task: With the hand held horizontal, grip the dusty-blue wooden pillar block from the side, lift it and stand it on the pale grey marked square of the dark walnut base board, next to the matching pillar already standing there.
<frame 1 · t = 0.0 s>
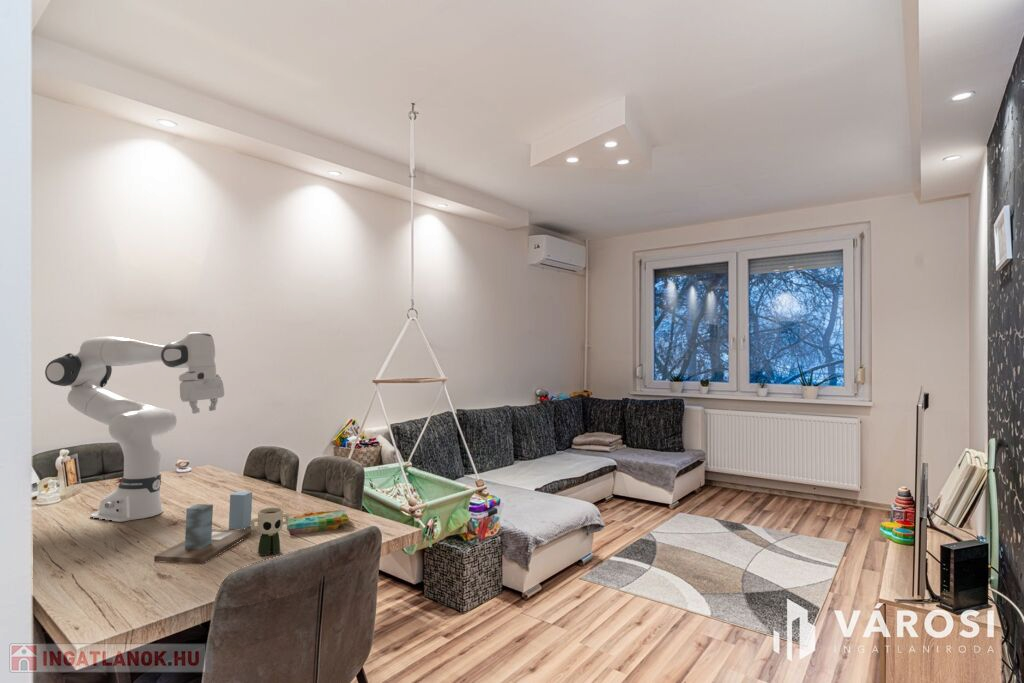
hand: (204, 412, 191), 39 cm above the table, tool pointing down, fingers open, 8 cm apart
character mug: (268, 553, 157), on the table
puzzle game: (317, 528, 182), on the table
base board: (205, 547, 161), on the table
pillar block: (239, 527, 180), on the table
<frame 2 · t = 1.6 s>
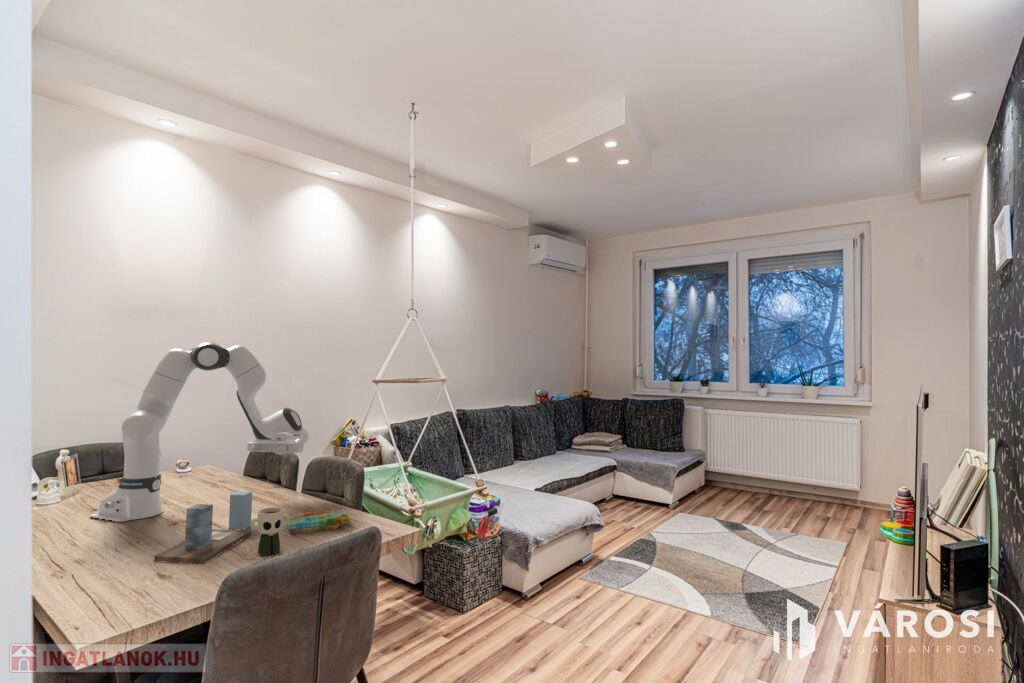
hand: (264, 449, 194), 25 cm above the table, tool horizontal, fingers open, 8 cm apart
nothing on the table moved.
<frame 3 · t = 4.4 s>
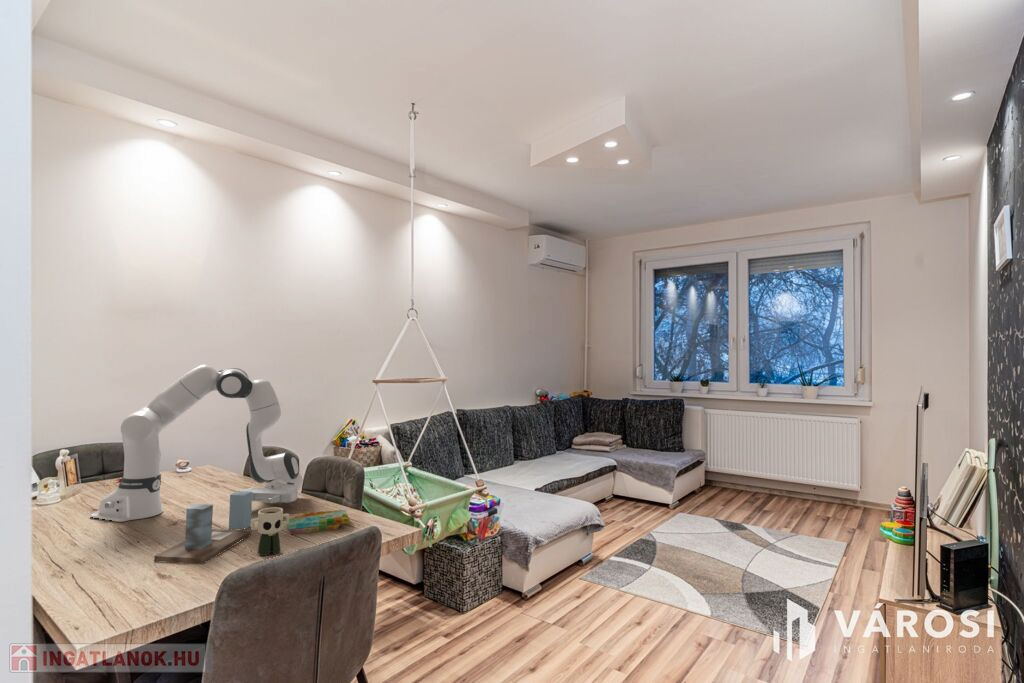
hand: (257, 500, 190), 6 cm above the table, tool horizontal, fingers open, 8 cm apart
nothing on the table moved.
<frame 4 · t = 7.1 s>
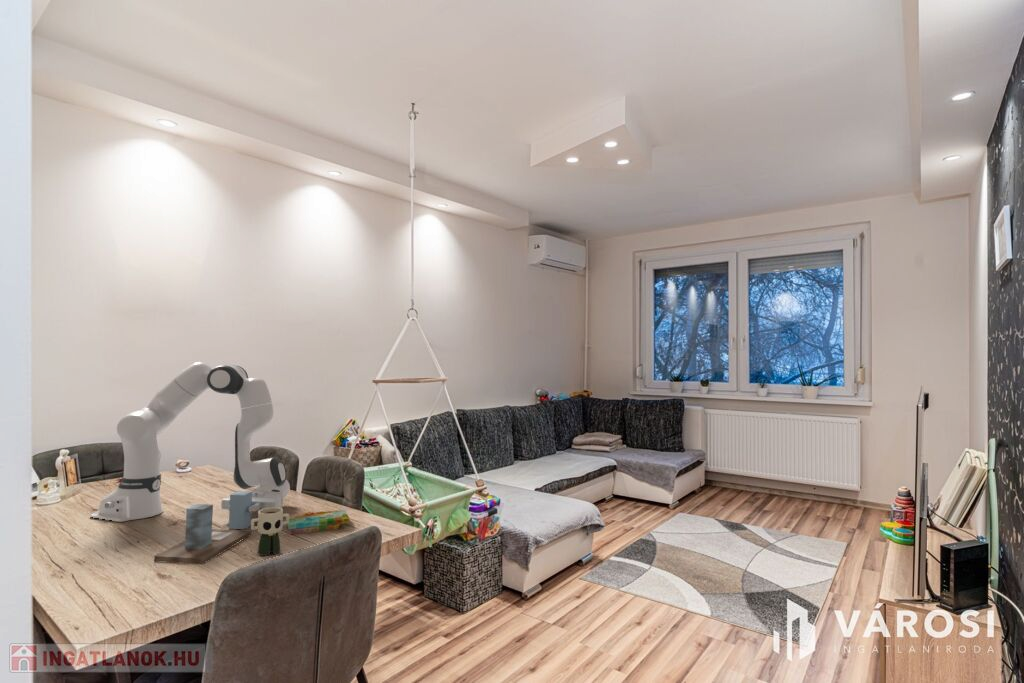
hand: (239, 509, 179), 7 cm above the table, tool horizontal, fingers closed on pillar block, 5 cm apart
pillar block: (239, 527, 180), on the table, touching gripper
everything else where it was.
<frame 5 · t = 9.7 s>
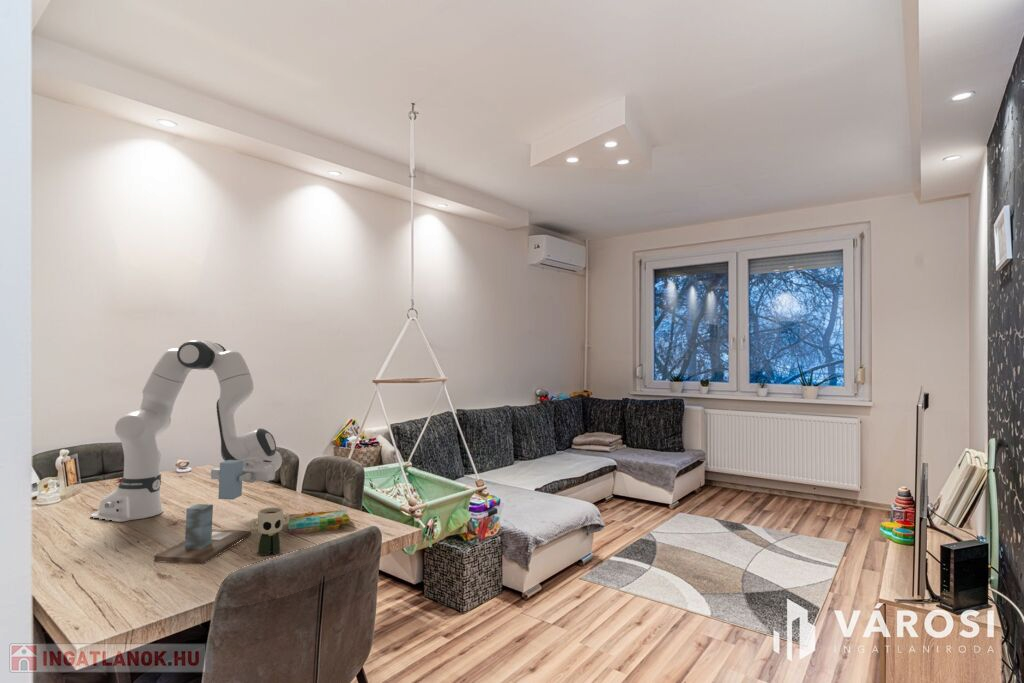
hand: (229, 478, 173), 19 cm above the table, tool horizontal, fingers closed on pillar block, 5 cm apart
pillar block: (230, 497, 173), point 12 cm above the table, touching gripper
everything else where it was.
when the fingers open (10 cm above the table, at t = 12.8 s): pillar block drops 2 cm, resting on base board.
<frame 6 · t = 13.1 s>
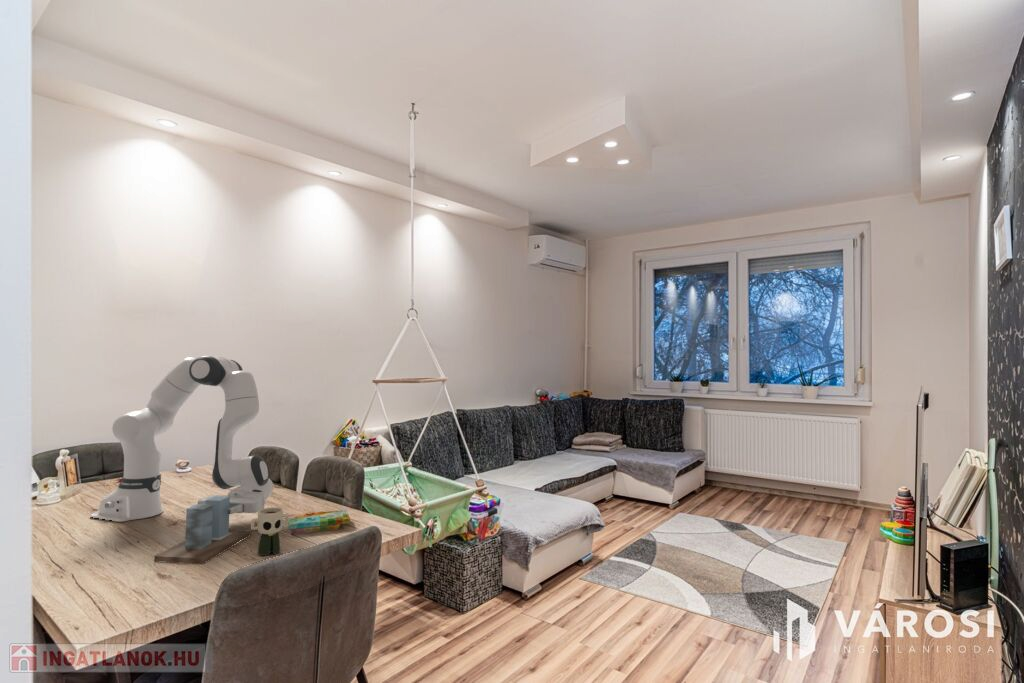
hand: (216, 511, 166), 10 cm above the table, tool horizontal, fingers open, 8 cm apart
pillar block: (216, 535, 167), point 2 cm above the table, touching base board
everything else where it was.
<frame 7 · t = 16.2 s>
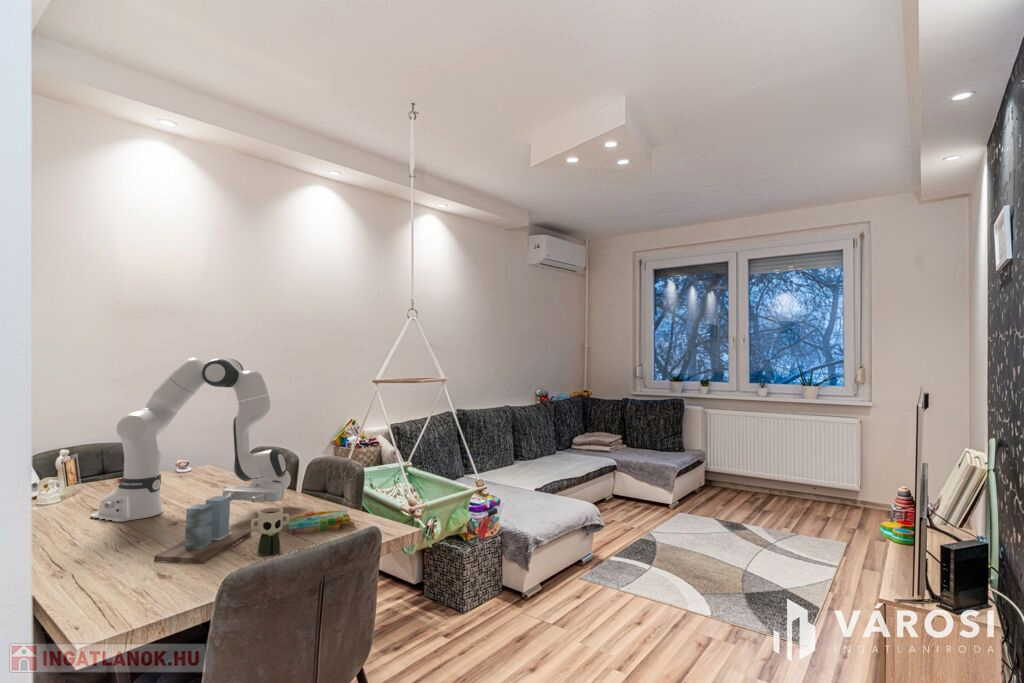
hand: (240, 499, 179), 10 cm above the table, tool horizontal, fingers open, 8 cm apart
nothing on the table moved.
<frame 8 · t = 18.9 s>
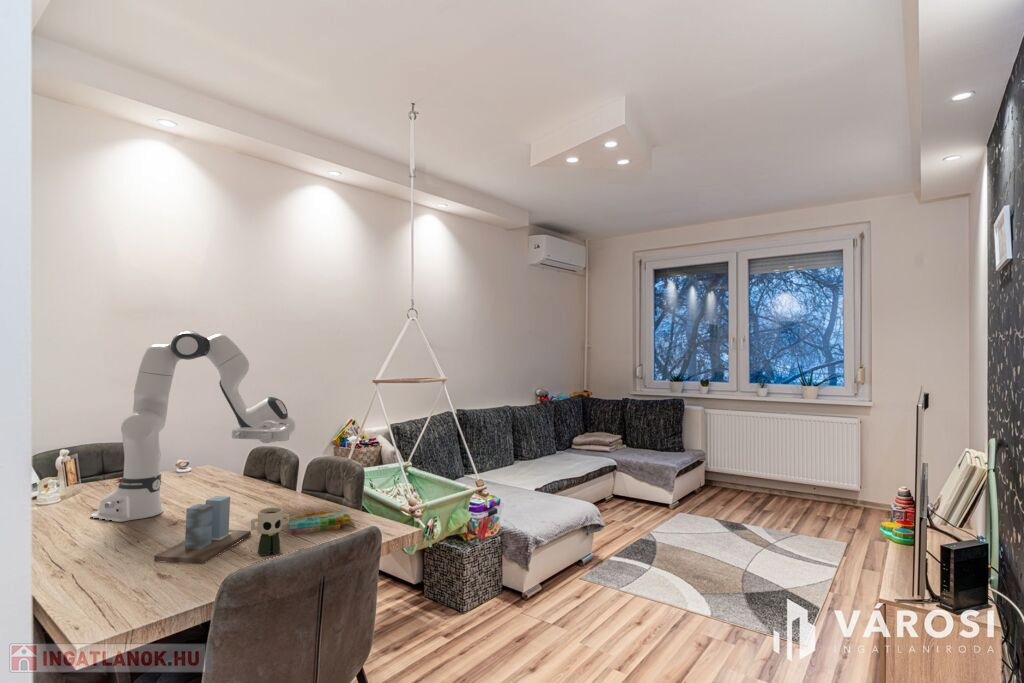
hand: (249, 436, 191), 30 cm above the table, tool horizontal, fingers open, 8 cm apart
nothing on the table moved.
at the end: pillar block 0.1 cm from the target spot on the base board, point 1.6 cm above the base board's base; pillar block tilted 0°; the gripper is holding nothing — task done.
